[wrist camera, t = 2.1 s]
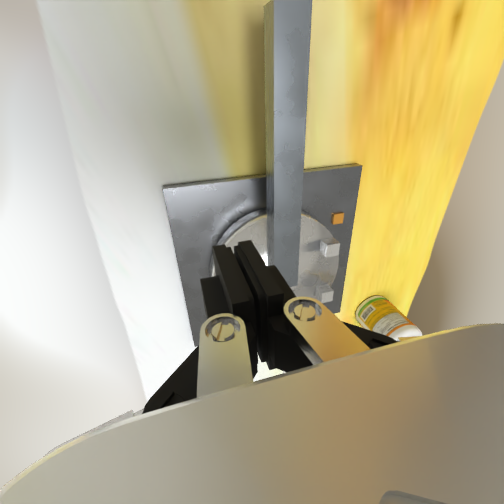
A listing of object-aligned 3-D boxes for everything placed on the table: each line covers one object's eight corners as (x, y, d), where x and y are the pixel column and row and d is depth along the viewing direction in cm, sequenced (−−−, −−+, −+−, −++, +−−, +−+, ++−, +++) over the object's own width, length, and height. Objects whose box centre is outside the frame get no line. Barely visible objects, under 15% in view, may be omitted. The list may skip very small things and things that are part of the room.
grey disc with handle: (172, 13, 19) (175, -5, 16) (354, 15, 22) (392, 0, 19) (216, 324, 34) (223, 353, 30) (322, 300, 37) (340, 323, 33)
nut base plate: (162, 186, 26) (162, 190, 25) (356, 163, 30) (364, 166, 29) (194, 340, 36) (195, 348, 35) (336, 307, 40) (340, 313, 39)
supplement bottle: (384, 316, 44) (434, 367, 36) (353, 327, 43) (398, 381, 35) (388, 290, 41) (443, 338, 33) (355, 300, 41) (403, 353, 32)
